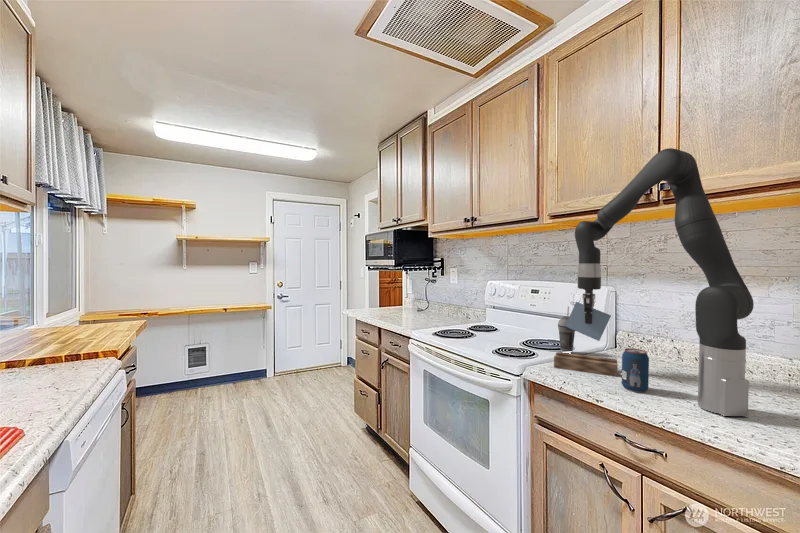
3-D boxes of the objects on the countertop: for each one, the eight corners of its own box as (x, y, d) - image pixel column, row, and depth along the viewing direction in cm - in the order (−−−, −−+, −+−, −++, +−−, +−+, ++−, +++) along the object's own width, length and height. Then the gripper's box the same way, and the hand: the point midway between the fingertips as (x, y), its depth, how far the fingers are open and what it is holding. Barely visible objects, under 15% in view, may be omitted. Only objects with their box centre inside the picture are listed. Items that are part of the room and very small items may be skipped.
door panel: (599, 340, 130) (611, 315, 128) (599, 341, 128) (610, 316, 126) (565, 325, 136) (576, 301, 134) (565, 326, 134) (575, 302, 132)
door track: (616, 370, 129) (616, 359, 129) (617, 376, 122) (617, 365, 122) (556, 362, 139) (556, 351, 139) (553, 367, 132) (554, 356, 132)
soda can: (638, 385, 114) (639, 347, 114) (653, 393, 107) (654, 353, 107) (616, 385, 114) (617, 347, 114) (630, 393, 107) (631, 353, 107)
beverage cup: (572, 350, 157) (572, 305, 156) (578, 355, 149) (579, 307, 149) (554, 350, 157) (555, 304, 157) (560, 354, 150) (561, 307, 150)
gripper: (600, 276, 123) (599, 327, 123) (601, 275, 135) (601, 321, 135) (576, 276, 127) (575, 325, 127) (579, 275, 139) (578, 319, 139)
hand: (588, 323), depth 131 cm, fingers closed on door panel, 2 cm apart
